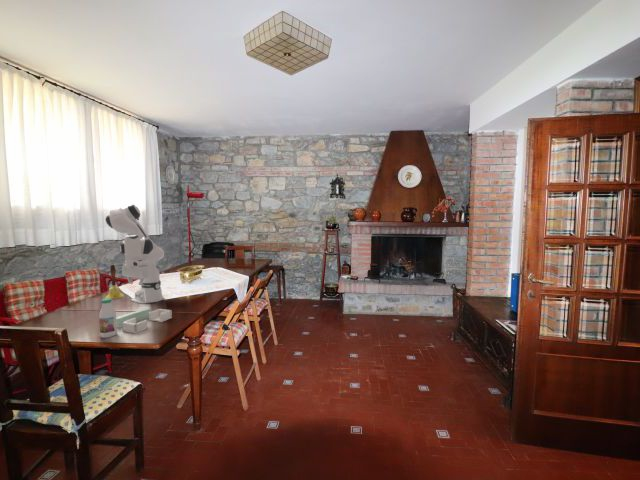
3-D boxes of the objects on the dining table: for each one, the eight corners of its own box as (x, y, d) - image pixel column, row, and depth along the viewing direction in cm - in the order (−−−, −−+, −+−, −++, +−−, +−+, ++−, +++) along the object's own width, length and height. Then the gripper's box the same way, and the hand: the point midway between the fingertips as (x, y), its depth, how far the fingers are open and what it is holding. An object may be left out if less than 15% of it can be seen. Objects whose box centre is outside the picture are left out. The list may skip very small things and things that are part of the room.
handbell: (117, 299, 241) (115, 266, 238) (101, 299, 241) (98, 266, 239) (127, 294, 253) (125, 263, 251) (112, 294, 253) (110, 263, 251)
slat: (117, 328, 184) (117, 319, 183) (114, 327, 185) (113, 318, 185) (151, 317, 203) (150, 308, 202) (147, 316, 204) (146, 307, 203)
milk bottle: (105, 332, 177) (103, 297, 175) (120, 332, 177) (117, 297, 175) (97, 338, 169) (94, 301, 167) (112, 337, 170) (109, 301, 168)
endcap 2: (159, 315, 204) (159, 308, 203) (171, 317, 200) (171, 310, 200) (149, 320, 196) (148, 312, 196) (161, 322, 193) (161, 314, 192)
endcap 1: (135, 333, 176) (134, 324, 175) (122, 330, 179) (121, 322, 179) (147, 327, 183) (147, 319, 183) (134, 325, 187) (134, 317, 186)
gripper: (118, 261, 195) (120, 283, 196) (140, 263, 186) (141, 286, 187) (128, 260, 201) (130, 281, 202) (150, 261, 192) (151, 284, 193)
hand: (135, 284), depth 195 cm, fingers open, 8 cm apart
